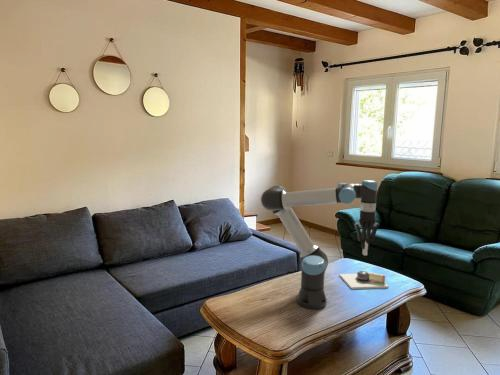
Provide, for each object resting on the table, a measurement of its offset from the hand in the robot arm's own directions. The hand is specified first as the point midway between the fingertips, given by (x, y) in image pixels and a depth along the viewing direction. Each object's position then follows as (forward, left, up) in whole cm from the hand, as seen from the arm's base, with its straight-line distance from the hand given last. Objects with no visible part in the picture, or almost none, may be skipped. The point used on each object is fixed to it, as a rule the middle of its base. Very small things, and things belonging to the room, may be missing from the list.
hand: (364, 254), depth 189 cm
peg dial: (+14, +19, -23) cm, 32 cm away
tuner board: (+10, +21, -24) cm, 34 cm away
